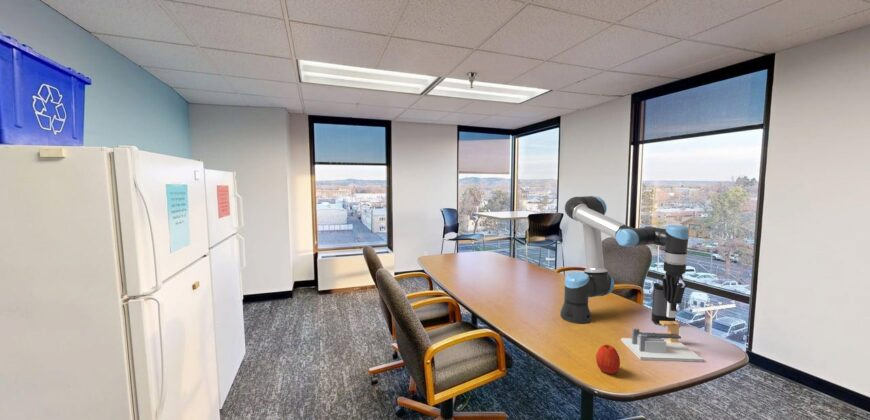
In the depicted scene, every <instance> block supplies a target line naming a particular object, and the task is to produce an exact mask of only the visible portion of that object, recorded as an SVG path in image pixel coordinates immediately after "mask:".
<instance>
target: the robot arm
mask: <svg viewBox="0 0 870 420" xmlns="http://www.w3.org/2000/svg"><path fill="white" fill-rule="evenodd" d="M564 212H565V214H566V215H567V216H568V218H570V219H572V220H573V221H574V222H575V221H576V222H579V223H580V224H582V232H583V241H584V250H585V263H586V268H585V269H584V270H583V272H581V271H580V272H576V271H575V272H570V273H568V274H567V275H566V276H565V277H564V278H565V279H564V294H563V295H564V297H563V298H564V299H563V304H562V306H561V309H560V315H559V316H560V318H562V320H564V321H567V322H569V323H573V324H579V325H580V324H589V323H591V321H592V313H591V311H590V307H589V298H595V297H603V296H608V295H609V294H611V293H612V292H613V290H614V289H615V280H614V278H613V277H612V275H610V273H609V270H608V269H606V267H605V261H604V251H603V243H602V242H603V241H602V233H604V234H606V235H607V236H609V237H611V238H613V239H615V240H616V243H618V245H619V246H621V247H626V248H627V247H628V248H631V247H637V246H638V247H640V246H649V245H653V246H654V245H655V246H661V247H664V253H663V254H664V255H663V256H664V257H663V267H662V268H663V271H664V272H665V274H661V280H662V285H663V294H664V298H666V300H667V314H666V316H667V317H668V318H675V319H676V316H675V315H676V314H677V313H676V311H677V306H678V304H682V300H683V298H684V293H685V289H686V288H687V286H688V283H687V282H684V281H683V279H684V278H683V277H684V276H683V275H684V274H686V271H687V259H688V258H687V257H688V255H687V254H688V247H689V246H688V243H689V239H690V237H689V228H688V227H687V226H684V225H676V224H675V225H674V224H672V225H671V224H670V225H667V226H666V228H660V227H655V226H651V225H650V226H649V225H643V226H640V227H638V228H634V227H631V226H629V225H627V224H625V223H622V222H621V221H618V220H616V219H614V218H611V217H609V216H607V215H606V213H607V203H606V202H605V200H604V199H602V198H601V197H600V196H596V195H595V196H593V195H589V196H588V195H587V196H574V197H570V198H569V199H568V200H567V201H566V202H565V205H564Z"/></svg>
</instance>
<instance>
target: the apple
mask: <svg viewBox="0 0 870 420" xmlns="http://www.w3.org/2000/svg"><path fill="white" fill-rule="evenodd" d="M595 362H596V364H597V367H598V369H599V370H600V371H602V372H604V373H606V374H610V375H613V374H615V373H617V372H618V371H619V369H620V367H621V366H620V365H621V359H620V355H619V353H618V351H617V349H616V348H615V347H614V346H613V345H610V344H603V345H601V346H600V347H599V348H598V350H597V352H596V353H595Z"/></svg>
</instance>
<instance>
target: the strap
mask: <svg viewBox="0 0 870 420" xmlns="http://www.w3.org/2000/svg"><path fill="white" fill-rule="evenodd" d="M635 333H636V334H637V335H638V336H639V337H640V335H647V338H661V339H667V338H672V339H678V340H679V339H682V336H681V335H678V334H667V332H666V333H665V332H663V333H660V332H657V333H656V332H655V333H638V332H635Z"/></svg>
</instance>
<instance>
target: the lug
mask: <svg viewBox="0 0 870 420" xmlns="http://www.w3.org/2000/svg"><path fill="white" fill-rule="evenodd" d="M660 324H662V325H661V326H663V327H666V334H678V335H679V331H680V323H678V322H677V321H676V320H675V321H660ZM679 336H680V335H679ZM666 339H668V340H669V341H670V342H678V341H679V339H672V338H666Z"/></svg>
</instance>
